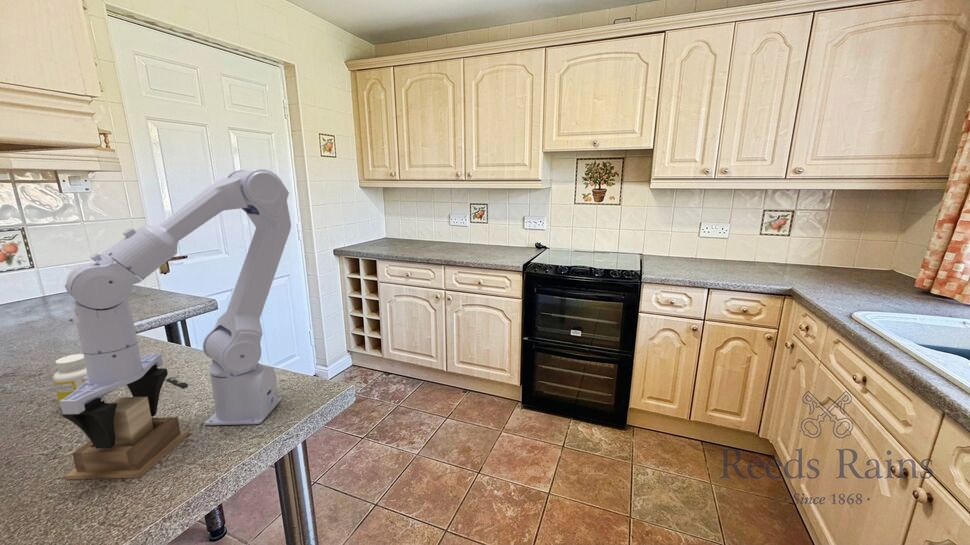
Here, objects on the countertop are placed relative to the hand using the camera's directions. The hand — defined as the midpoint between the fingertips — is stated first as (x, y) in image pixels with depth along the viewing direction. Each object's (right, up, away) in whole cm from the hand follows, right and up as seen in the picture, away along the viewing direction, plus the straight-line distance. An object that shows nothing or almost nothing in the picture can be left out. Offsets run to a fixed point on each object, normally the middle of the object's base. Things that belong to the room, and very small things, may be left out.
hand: (128, 430), depth 58 cm
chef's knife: (-15, +1, +26) cm, 30 cm away
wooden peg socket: (0, -4, +1) cm, 4 cm away
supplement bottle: (-21, -1, +13) cm, 25 cm away
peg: (0, -4, +1) cm, 4 cm away
